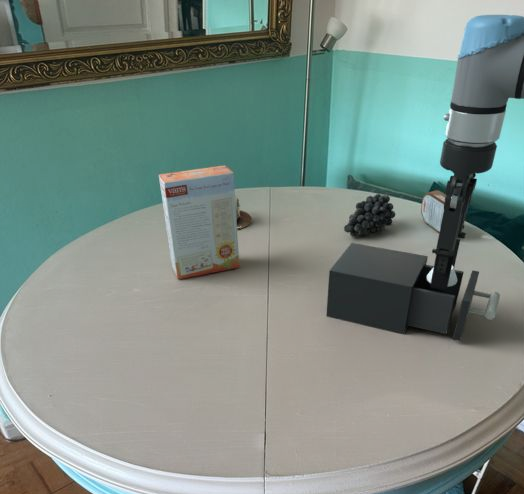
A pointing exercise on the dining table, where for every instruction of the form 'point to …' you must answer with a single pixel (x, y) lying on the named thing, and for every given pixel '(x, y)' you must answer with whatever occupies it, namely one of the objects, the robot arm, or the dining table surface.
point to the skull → (241, 215)
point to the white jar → (451, 279)
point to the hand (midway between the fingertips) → (441, 280)
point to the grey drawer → (446, 304)
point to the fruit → (370, 215)
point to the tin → (433, 209)
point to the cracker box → (200, 220)
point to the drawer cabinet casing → (373, 286)
